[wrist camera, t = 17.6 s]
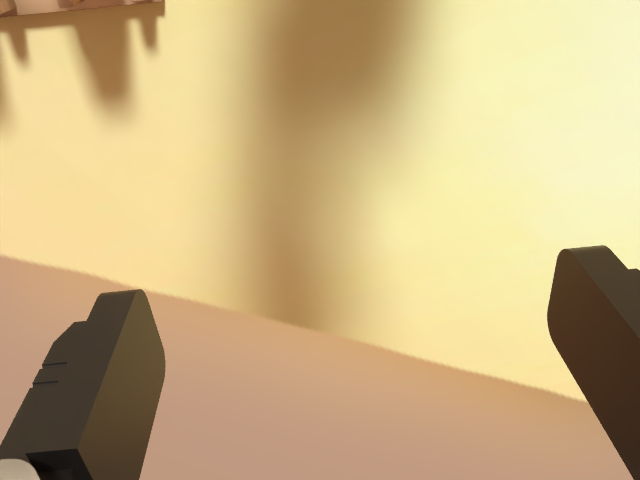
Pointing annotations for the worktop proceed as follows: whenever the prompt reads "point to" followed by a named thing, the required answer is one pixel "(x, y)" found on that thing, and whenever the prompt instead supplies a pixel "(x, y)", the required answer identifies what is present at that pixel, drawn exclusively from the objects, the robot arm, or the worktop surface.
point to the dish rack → (57, 5)
